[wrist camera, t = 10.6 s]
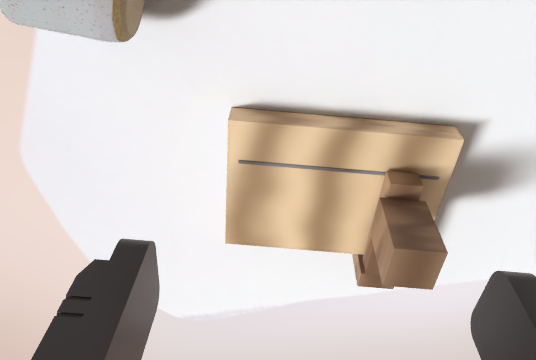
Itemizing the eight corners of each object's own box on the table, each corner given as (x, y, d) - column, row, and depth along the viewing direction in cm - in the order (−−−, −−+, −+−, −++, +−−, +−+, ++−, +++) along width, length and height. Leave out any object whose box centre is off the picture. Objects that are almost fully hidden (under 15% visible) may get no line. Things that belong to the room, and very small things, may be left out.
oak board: (455, 126, 39) (464, 140, 37) (414, 242, 47) (420, 259, 45) (231, 107, 39) (228, 120, 37) (228, 227, 47) (225, 243, 45)
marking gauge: (418, 159, 41) (454, 237, 32) (387, 258, 48) (409, 344, 39) (375, 155, 40) (399, 233, 32) (350, 255, 48) (364, 340, 39)
